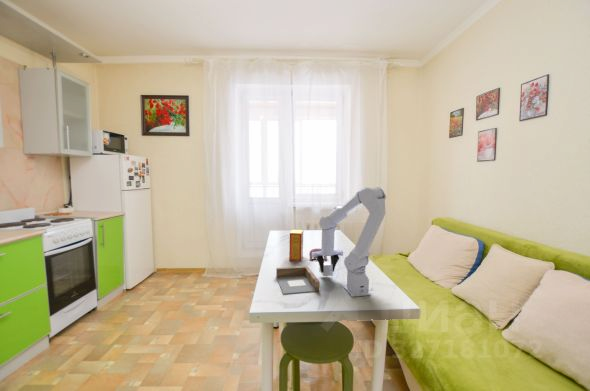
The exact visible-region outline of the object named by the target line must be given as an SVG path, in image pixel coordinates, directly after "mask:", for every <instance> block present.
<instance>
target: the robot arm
mask: <svg viewBox="0 0 590 391" xmlns="http://www.w3.org/2000/svg"><path fill="white" fill-rule="evenodd" d="M386 199H387V196H386V193H385V191H384V189H382V188H381V187H379V186H374V187H363V188H361V189H360V190H359V191H357V192H356V193H355V194H354V196H352V197H351V198H350V199H349V200H348V201H347V202H346V203H345V204H343V206H340V205H339V206H335V207H334V208H333V210H332V211H331V212H328V213H327V215H326V216H322V217H320V218H319V221H318V223H319V224H318V225H319V227H320V229H321V248H320V249H321V251H317V252H312V258H313V257H316V260H317V262H318V266H319V267H320V271H321V272H322V273H323V271H324V267H323V266H324V264H325V259H324V256H327V257H330V263H331V264H332V265H333V273H334V272H335V268H336V265H337V264H338V261H339V260H340V256H341V257H342V256H343V257H344V251H343V250H335V231H336V227H337V226H338V224H339V223H340V222H343V220H344V219H346V218H347V217H348V213H349V212H350V211H352V210H353V209H355V208H356V207H357V206H360V204H362V205H363V206H364V207H365V209H367V211H368V213H369V214H368V217H367V219H366V221H365V223H364V225H363V228H362V230H361V233H360V235H359V237H358V239H357V242H356V244H355V247H354V248H353V249H352V250H351V251H350V252H349V254H348V255H347V256H346V257H345V258H344V261H343V263H344V266H345V269H346V271H347V272H346V274H347V275H346V278H347V279H346V285H343V286H342V287H343V288H344V289H345V291H347V293H348V294H350V296H351V297H361V296H371V293H370V292H369V288H370V279H369V277H368V276H367V274H366V267H367V265H368V264H369V260H370V258H369V257H370V255H371V253H370V252H369V251H370V248H371V246H372V244H373V242H374V239H375V237H376V235H377V234H378V231H379V229H380V227H381V224H382V222H383V221H384V217H385V216H386Z"/></svg>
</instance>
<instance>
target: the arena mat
mask: <svg viewBox="0 0 590 391" xmlns="http://www.w3.org/2000/svg"><path fill="white" fill-rule="evenodd" d="M276 279H277V282H278V285H279V287H280V290H281V291H282V292H281V293H282V295H292V294H293V295H294V294H301V293H302V294H303V293H305V294H307V293H313V292H314V293H316V292H315V290H314V288H313V287H312V285H311V284H310V282H309V281H308V279H307V278H306V276H293V277H279V278H277V277H276Z"/></svg>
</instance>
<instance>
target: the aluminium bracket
mask: <svg viewBox="0 0 590 391" xmlns="http://www.w3.org/2000/svg"><path fill="white" fill-rule="evenodd" d="M323 267H324V271H323V273H322V272H321V271H320V266H319V267H318V271H319V273H320V275H322V276H323V277H329V276H330V277H331V276H332V277H333V273H334V272H333V265H332V264H331V262H330V263H324V266H323Z"/></svg>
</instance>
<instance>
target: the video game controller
mask: <svg viewBox="0 0 590 391" xmlns="http://www.w3.org/2000/svg"><path fill="white" fill-rule="evenodd" d="M317 251H321V248H312V249H311V250H309V260H310V261H313V259H314V260H315V259H316V260H317V258H316V257H312V252H317ZM323 259H324V261H327V259H328V256H323Z"/></svg>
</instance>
